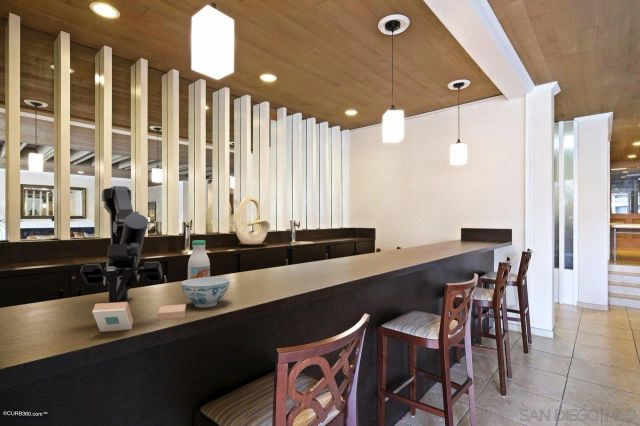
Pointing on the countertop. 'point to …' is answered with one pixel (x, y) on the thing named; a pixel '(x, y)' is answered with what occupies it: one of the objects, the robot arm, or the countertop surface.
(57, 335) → the countertop surface
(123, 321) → the tile
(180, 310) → the finished tile
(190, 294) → the chinaware
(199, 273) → the milk bottle
